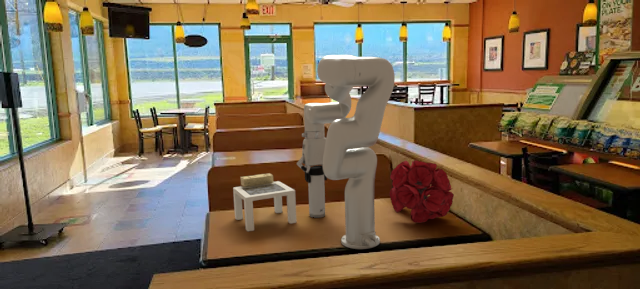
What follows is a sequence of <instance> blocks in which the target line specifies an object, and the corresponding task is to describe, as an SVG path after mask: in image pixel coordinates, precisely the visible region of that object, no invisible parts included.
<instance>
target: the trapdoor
mask: <svg viewBox="0 0 640 289" xmlns="http://www.w3.org/2000/svg"><path fill="white" fill-rule="evenodd" d="M274 182H275V181H274V175H273V174H272V173H270V172H269V173H261V174H260V173H259V174H254V175H246V176H240V186H244V187H247V186H254V185H261V184H268V183H274ZM243 190H244V191H246V192H247V193H248V194H249V195H255V194H262V193H268V192H275V191H282V190H284V189H283V188H281V187H279V186H278V185H276V184H270V185H263V186H256V187H249V188H243Z"/></svg>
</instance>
